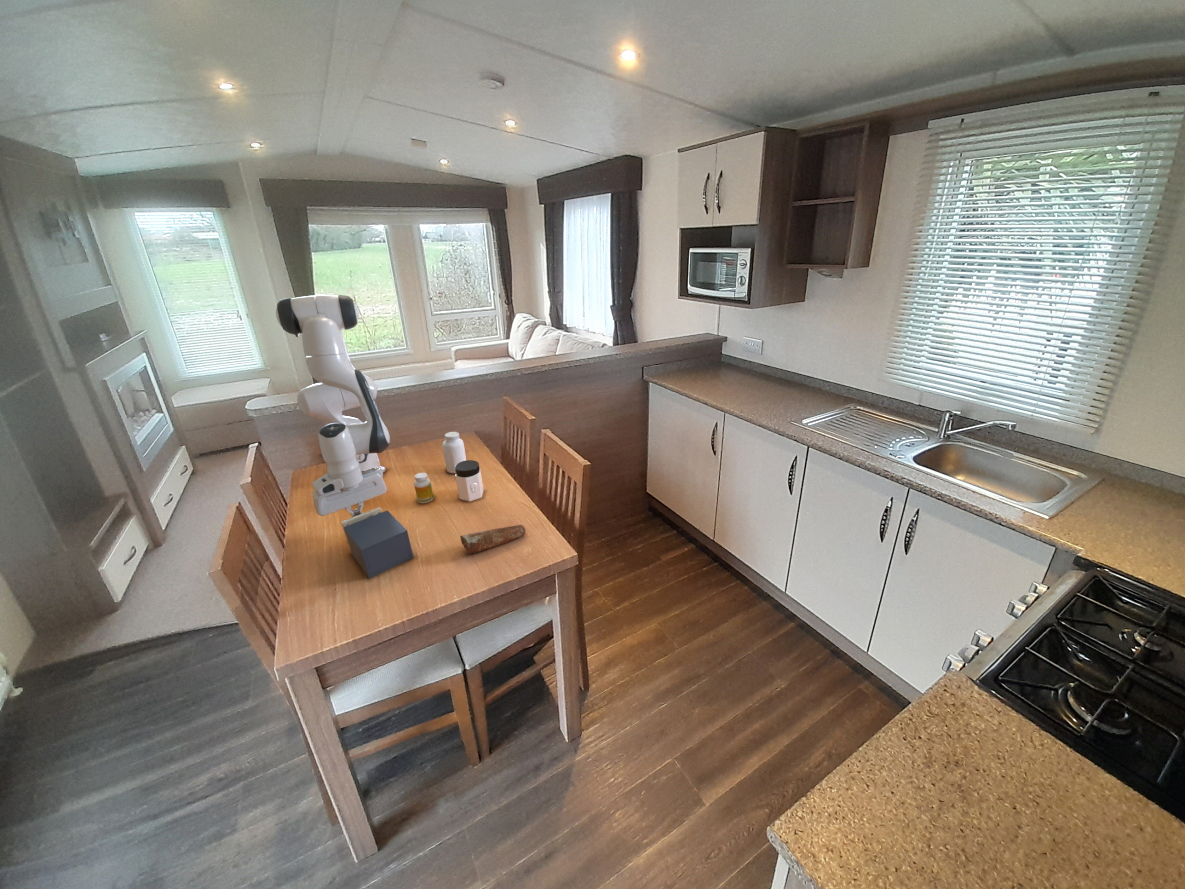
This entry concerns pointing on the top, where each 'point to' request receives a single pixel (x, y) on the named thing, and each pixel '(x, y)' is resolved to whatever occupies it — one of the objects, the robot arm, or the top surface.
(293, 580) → the top surface
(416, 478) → the supplement bottle
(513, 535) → the rusty brown tapered cylinder
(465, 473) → the jar
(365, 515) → the drawer
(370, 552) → the dark grey box
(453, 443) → the pill bottle
